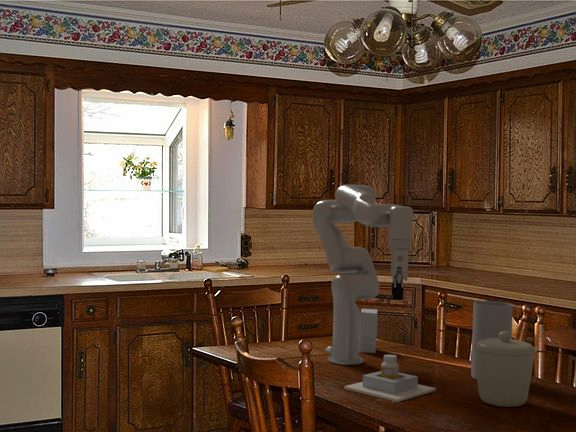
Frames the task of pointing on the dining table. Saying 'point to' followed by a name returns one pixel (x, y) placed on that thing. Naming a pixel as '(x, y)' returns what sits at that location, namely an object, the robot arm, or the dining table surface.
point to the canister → (504, 370)
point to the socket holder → (390, 387)
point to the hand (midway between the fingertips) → (397, 297)
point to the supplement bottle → (390, 367)
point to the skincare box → (368, 331)
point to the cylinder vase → (489, 323)
